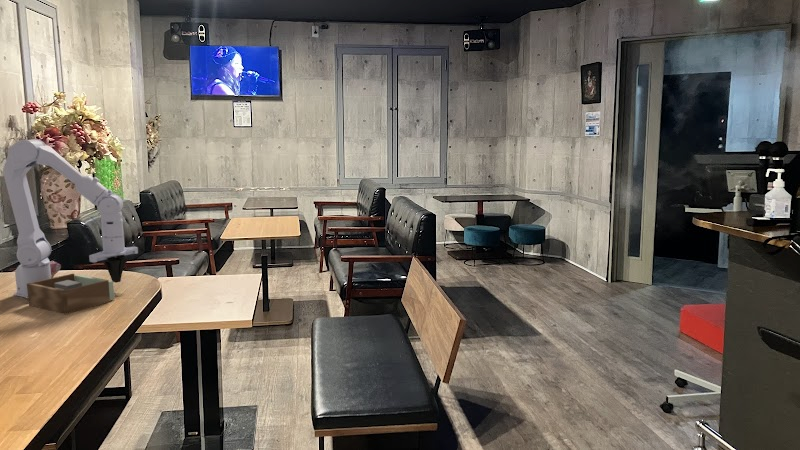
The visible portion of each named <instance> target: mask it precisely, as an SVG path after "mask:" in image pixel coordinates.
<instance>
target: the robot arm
mask: <svg viewBox="0 0 800 450" xmlns="http://www.w3.org/2000/svg"><path fill="white" fill-rule="evenodd" d="M34 165H42V166H48V167H51V168H52V169H53V170H55V171H57V172H58V173H59V174H60V175H62V176H63V177H64V178H66V179H67V180H69V181H70V182H71V183H73V184H74V185H75V186H74V187H75V191H76V192H77V193H78V194H80V195H81V196H82V197H83V198H85V199H86V200H87V201H89V202H90V203H91V204H93V206H96V207H97V211H98V212H99V214H100V219H101V221H100V225H101V226H100V227H101V239H102V251H99V252H96V253H93V254H89V255H88V257H89V262H90V263H97V262H102V264H103V265H104V266H105V268H106V270H107V271H108V273H109V277H110V280H111V281H113V283H121V282H122V276H123V271H124V270H125V269H124V268H125V266H126V264H127V262H128V260H129V259H128V256H129V255H133V254H134V255H135V254H136V255H137V254H138V253H139V247H137V246H127V247H125V232H124V220H123V213H122V212H123V211H122V209H123V207H124V200H123V198H122V197H121V196H120V195H119V194H118V193H115V192H113V190H112V189H111V188H110V189H108V188H107V187H106V186H104V185H103V184H102V183H100V179H99V178H98V177H96V176H94V177H93V176H92V175H84V174H82V173H81V172H80V171H79V170H77V168H76V167H75V166H73V165H72V164H70V162H69V161H68V160H66V159H65V158H64V157H63V156H61V155H60V154H59V153H58V152H57V151H56V150H55V149H54V148H53V147H52V146H50V145H48V144H47V145H46V143H45V142H44V141H42V140H40V139H38V138H30V139H19V140H17V141H16V142H14V143H13V144H12V145H11V146H10V147H9V148H8V149H7V156H6V159H5V162H4V165H3V168H2V174H3V177H4V182H5V185H6V189H7V194H8V197H9V202H10V204H11V205H10V206H11V209H12V213H13V216H14V220H15V224H16V227H17V232H18V235H17V240H16V244H17V251H16V259H17V261H18V262H19V263H20V264H19V265H18V266H17V267H16V269H15V272H14V274H15V275H14V276H15V284H16V285H15V288H16V292H14V293H13V296H17V297H21V298H26V299H28V292H27V284H28V283H32V282H37V281H41V280H46V279H50V278H51V269H50V262H51V261H50V259H49V257H50V255H51V253H52V246H51V243H50V242H49V241H48V240H47V239H46V236H45V235H46V234H45V233H44V232H43V231H42V229H41V228H40V225H39V221H38V217H37V213H36V210H35V206H34V205H35V204H34V202H33V197H32V194H31V190H30V185H29V182H28V178H27V174H28V172H29V171H30V170H31V169H32V168H33V167H34Z"/></svg>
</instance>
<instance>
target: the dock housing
mask: <svg viewBox="0 0 800 450" xmlns="http://www.w3.org/2000/svg"><path fill="white" fill-rule="evenodd" d="M65 280H71V281H75V273H68V274H65V275H60V276H55V277H53V278H50V279H46V280H41V281H37V282H32V283H28V284H27V292H28V298H27V299H28V300H27V301H28V306H31V307H35V308H39V309H42V310H46V311H51V312H54V313H59V314H63V315H67V314H70V313H73V312H77V311H81V310H85V309H89V308H92V307H95V306H96V307H97V306H100V305H102V304H106V303H110V302H111V300H110V294H109V281H108V280H109V279H105V281H101V282H97V283H93V284H89V285H84V286H80V287H76V288H72V289H68V290H61V289H56V288H54V283H57V282H61V281H65Z"/></svg>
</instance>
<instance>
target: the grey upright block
mask: <svg viewBox="0 0 800 450" xmlns="http://www.w3.org/2000/svg"><path fill="white" fill-rule="evenodd" d="M80 286H82V283H81V282H76V281H71V280H65V281H61V282H57V283H54V288H56V289H61V290H68V289H72V288H76V287H80Z"/></svg>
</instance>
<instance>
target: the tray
mask: <svg viewBox="0 0 800 450" xmlns="http://www.w3.org/2000/svg"><path fill="white" fill-rule="evenodd" d="M74 276H75V281H76V282H81V283H82V286H84V285H89V284H93V283H97V282H101V281H105V280H106V279H104V278H98V277H94V276H88V275H84V274H74ZM107 280H108V281H109V294H110V301H113V300H115V288H114V282H113V281H112V280H111V279H110V280H109V279H107Z"/></svg>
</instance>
